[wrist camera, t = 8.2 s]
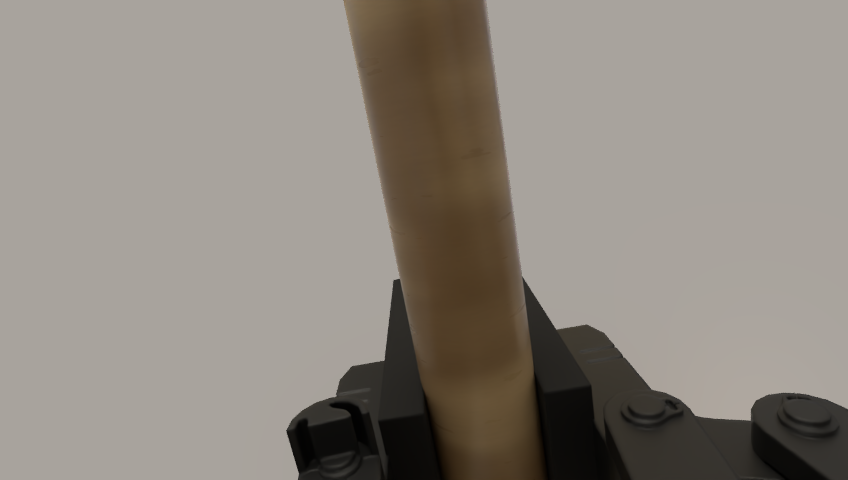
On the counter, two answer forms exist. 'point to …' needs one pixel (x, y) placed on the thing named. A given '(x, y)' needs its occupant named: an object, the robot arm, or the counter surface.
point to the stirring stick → (452, 228)
